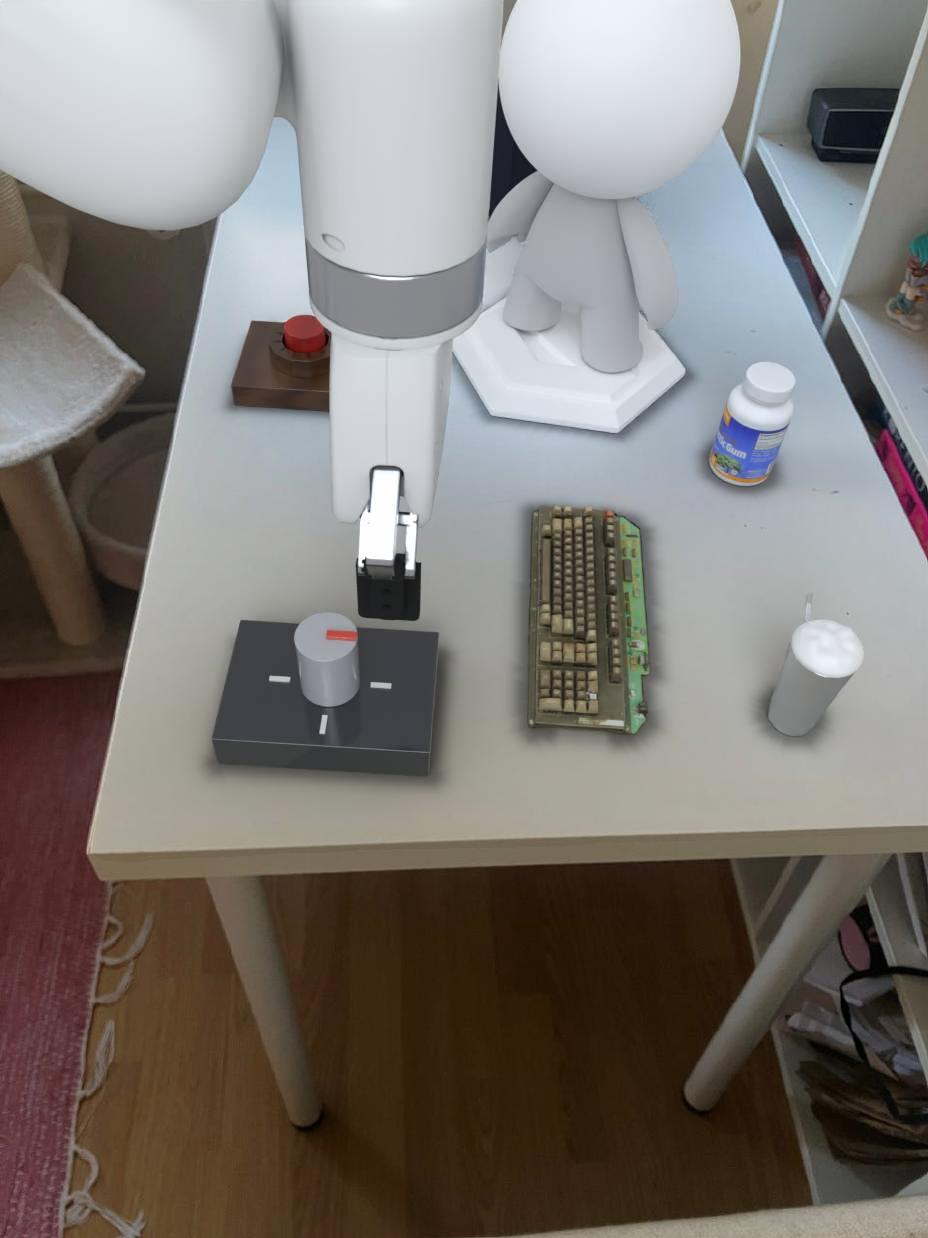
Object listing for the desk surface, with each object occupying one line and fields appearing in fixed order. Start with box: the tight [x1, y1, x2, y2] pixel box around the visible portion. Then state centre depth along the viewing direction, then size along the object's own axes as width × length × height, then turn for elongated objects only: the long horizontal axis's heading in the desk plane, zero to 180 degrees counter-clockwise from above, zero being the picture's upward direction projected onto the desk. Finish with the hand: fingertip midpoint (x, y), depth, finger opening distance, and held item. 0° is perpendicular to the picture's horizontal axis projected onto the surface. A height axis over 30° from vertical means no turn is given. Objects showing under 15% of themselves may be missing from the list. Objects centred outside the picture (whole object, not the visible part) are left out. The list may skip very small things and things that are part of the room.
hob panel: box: [211, 619, 440, 777], centre depth 68 cm, size 14×10×3 cm
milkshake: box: [767, 593, 865, 737], centre depth 67 cm, size 4×5×10 cm
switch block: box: [230, 319, 331, 412], centre depth 92 cm, size 12×10×4 cm
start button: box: [284, 314, 326, 353], centre depth 90 cm, size 4×4×2 cm
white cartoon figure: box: [452, 0, 741, 434], centre depth 83 cm, size 20×23×35 cm
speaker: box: [489, 41, 538, 218], centre depth 112 cm, size 22×13×15 cm, turn 133°
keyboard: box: [527, 504, 651, 735], centre depth 75 cm, size 22×9×2 cm, turn 176°
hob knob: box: [294, 611, 360, 707], centre depth 65 cm, size 4×4×5 cm
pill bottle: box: [708, 361, 797, 487], centre depth 84 cm, size 5×5×10 cm
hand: (397, 548), depth 56 cm, fingers open, 9 cm apart
